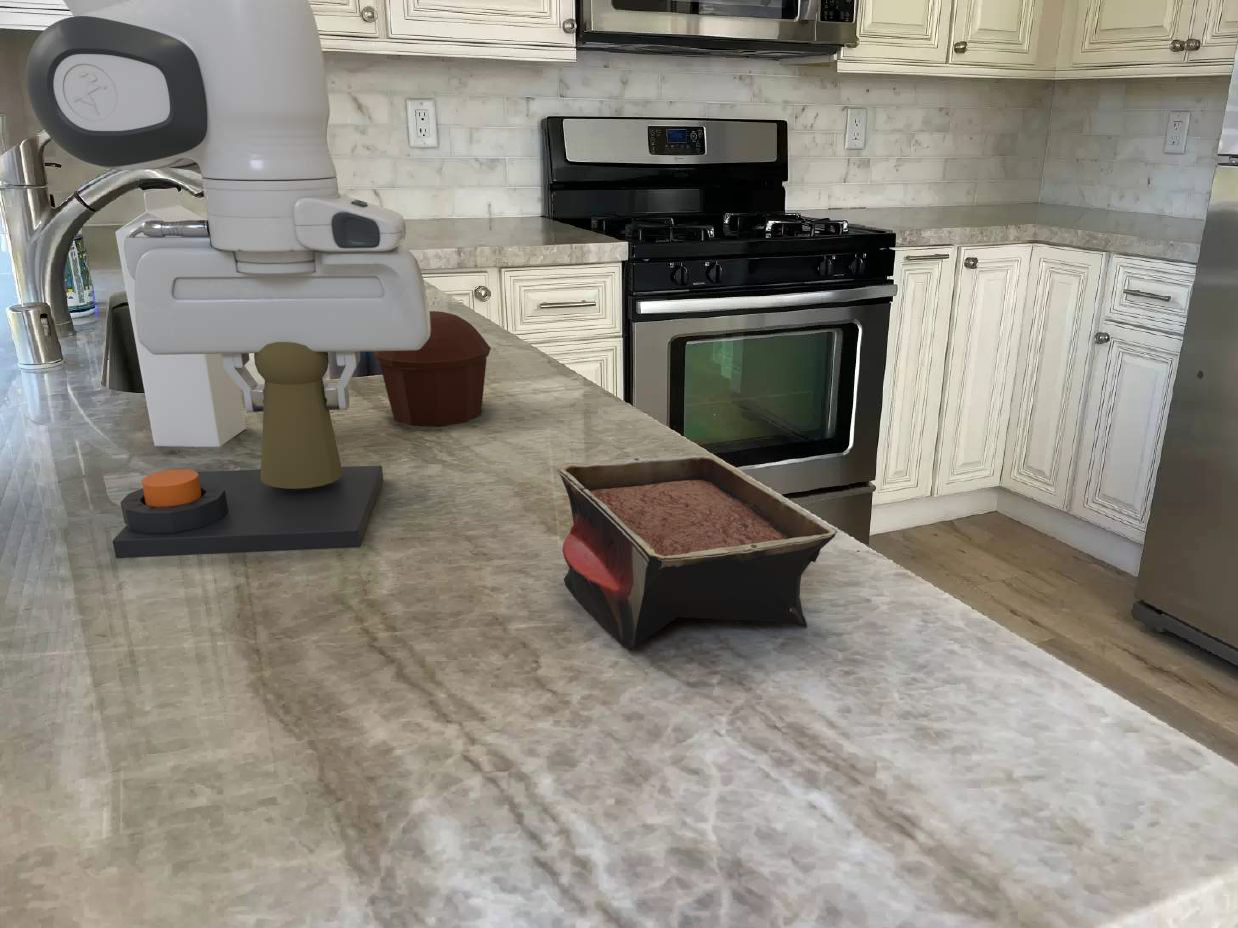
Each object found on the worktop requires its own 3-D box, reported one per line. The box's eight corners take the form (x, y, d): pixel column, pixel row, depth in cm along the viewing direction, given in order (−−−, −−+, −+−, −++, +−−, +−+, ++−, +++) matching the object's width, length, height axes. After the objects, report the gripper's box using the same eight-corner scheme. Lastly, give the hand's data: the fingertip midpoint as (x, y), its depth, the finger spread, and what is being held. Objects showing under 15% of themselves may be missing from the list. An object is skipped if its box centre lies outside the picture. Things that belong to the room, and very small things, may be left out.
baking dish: (739, 566, 74) (726, 431, 71) (866, 644, 57) (854, 473, 55) (547, 609, 69) (525, 467, 67) (624, 708, 53) (599, 524, 50)
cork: (245, 473, 78) (230, 331, 74) (318, 458, 82) (307, 323, 78) (284, 494, 74) (270, 346, 70) (358, 477, 79) (348, 336, 75)
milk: (154, 447, 91) (104, 192, 83) (185, 427, 97) (141, 186, 89) (221, 448, 91) (178, 192, 83) (248, 428, 97) (210, 187, 89)
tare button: (138, 510, 70) (133, 487, 69) (155, 492, 73) (151, 469, 72) (193, 508, 70) (189, 485, 70) (208, 490, 74) (204, 468, 73)
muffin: (478, 431, 97) (472, 327, 93) (364, 429, 97) (353, 325, 94) (503, 399, 108) (498, 305, 104) (400, 397, 108) (392, 303, 105)
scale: (111, 559, 69) (103, 518, 67) (175, 488, 81) (169, 453, 80) (359, 548, 71) (355, 508, 70) (383, 481, 84) (380, 446, 83)
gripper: (101, 224, 67) (139, 425, 72) (417, 224, 70) (432, 417, 75) (134, 215, 73) (166, 401, 78) (425, 216, 76) (438, 395, 81)
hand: (299, 409), depth 77 cm, fingers closed on cork, 4 cm apart
